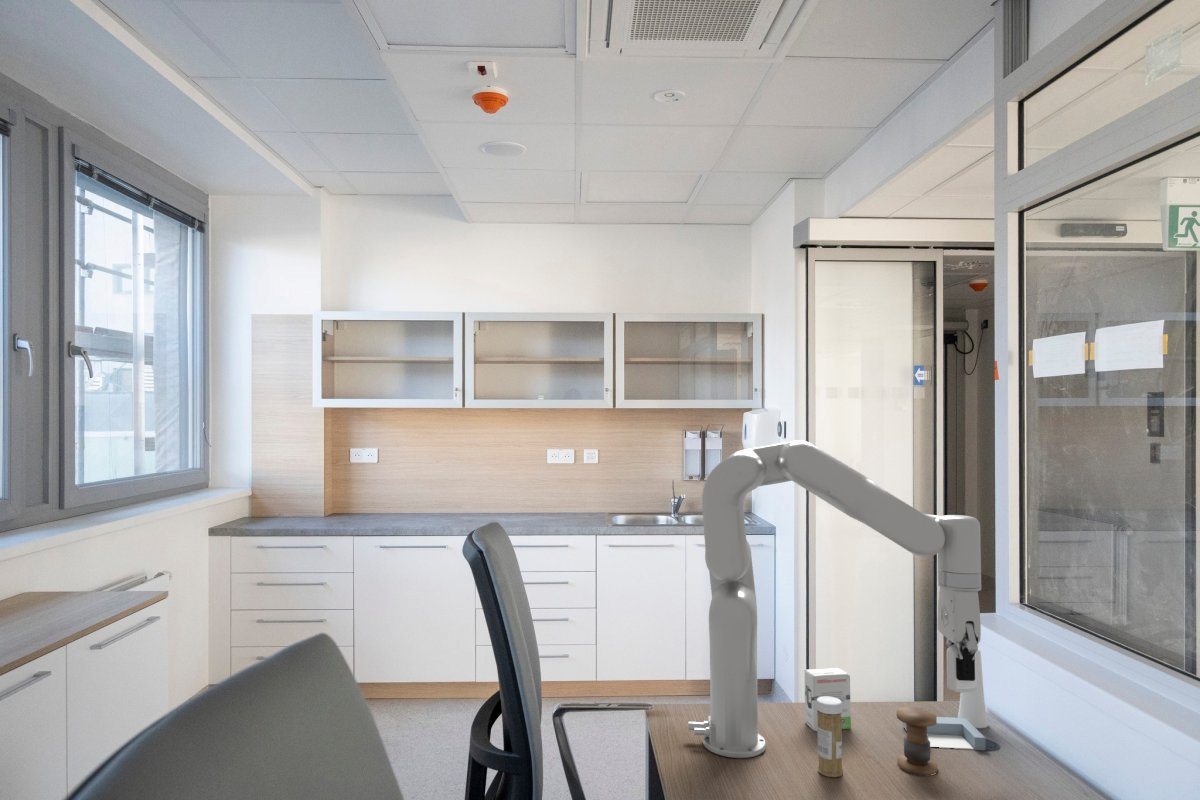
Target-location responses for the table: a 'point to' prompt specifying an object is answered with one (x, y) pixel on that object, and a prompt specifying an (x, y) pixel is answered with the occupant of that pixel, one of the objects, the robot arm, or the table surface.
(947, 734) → the notched board
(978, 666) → the cosmetic bottle
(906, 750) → the spool
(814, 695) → the ink box
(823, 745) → the sprinkles bottle
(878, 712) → the table surface
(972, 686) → the eye dropper bottle
